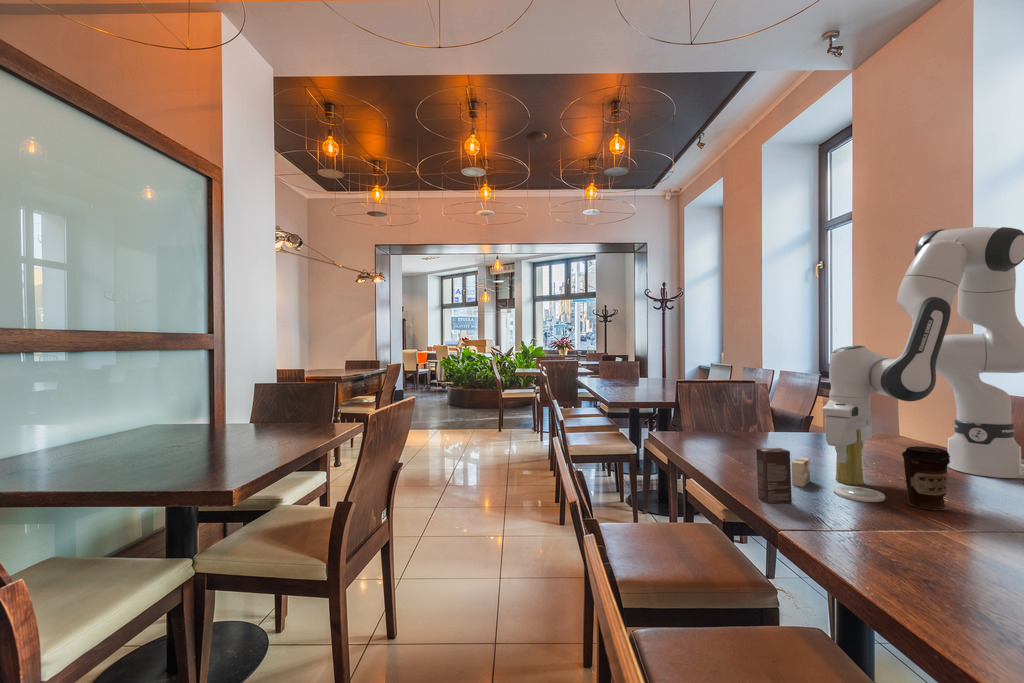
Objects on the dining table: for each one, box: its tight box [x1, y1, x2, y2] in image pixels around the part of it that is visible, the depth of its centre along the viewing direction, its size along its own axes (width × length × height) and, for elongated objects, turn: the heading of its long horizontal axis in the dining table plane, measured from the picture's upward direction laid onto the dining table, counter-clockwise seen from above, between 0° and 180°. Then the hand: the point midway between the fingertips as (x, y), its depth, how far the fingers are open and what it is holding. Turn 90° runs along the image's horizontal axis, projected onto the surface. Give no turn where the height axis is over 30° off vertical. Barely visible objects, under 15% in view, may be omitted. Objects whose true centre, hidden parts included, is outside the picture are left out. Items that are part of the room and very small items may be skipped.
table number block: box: [791, 456, 811, 488], centre depth 124 cm, size 7×3×6 cm, turn 134°
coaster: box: [833, 485, 886, 503], centre depth 114 cm, size 10×10×1 cm
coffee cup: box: [901, 445, 950, 511], centre depth 106 cm, size 9×8×13 cm
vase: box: [835, 429, 865, 486], centre depth 125 cm, size 6×6×14 cm
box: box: [755, 447, 793, 504], centre depth 111 cm, size 6×4×12 cm
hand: (850, 459), depth 124 cm, fingers open, 8 cm apart
